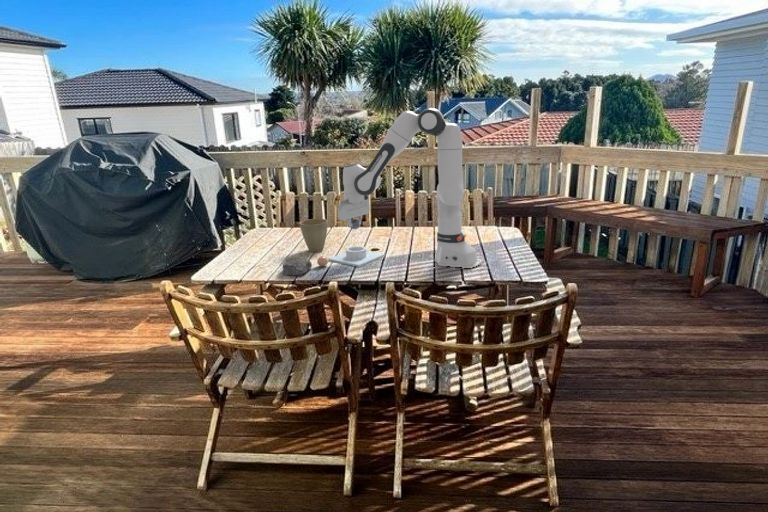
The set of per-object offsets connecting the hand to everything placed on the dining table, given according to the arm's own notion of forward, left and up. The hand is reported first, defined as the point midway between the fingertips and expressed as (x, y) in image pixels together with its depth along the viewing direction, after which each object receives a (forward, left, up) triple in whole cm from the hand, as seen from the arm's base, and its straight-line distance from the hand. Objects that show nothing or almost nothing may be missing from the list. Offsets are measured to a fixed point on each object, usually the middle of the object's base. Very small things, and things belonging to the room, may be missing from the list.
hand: (354, 225), depth 221 cm
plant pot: (+29, 0, -17) cm, 34 cm away
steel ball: (0, 0, +1) cm, 1 cm away
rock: (+11, +30, -17) cm, 36 cm away
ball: (+6, +18, -14) cm, 24 cm away
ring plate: (0, 0, -17) cm, 17 cm away
